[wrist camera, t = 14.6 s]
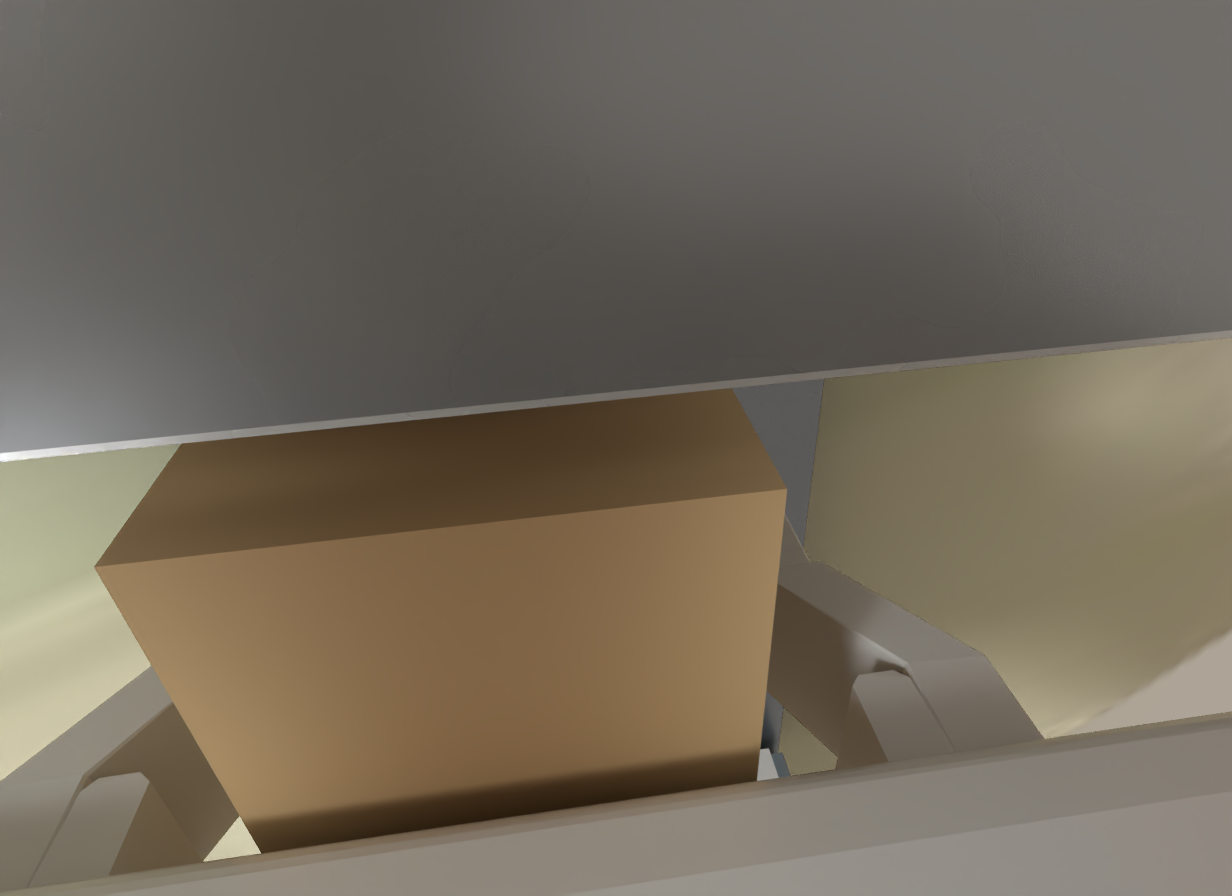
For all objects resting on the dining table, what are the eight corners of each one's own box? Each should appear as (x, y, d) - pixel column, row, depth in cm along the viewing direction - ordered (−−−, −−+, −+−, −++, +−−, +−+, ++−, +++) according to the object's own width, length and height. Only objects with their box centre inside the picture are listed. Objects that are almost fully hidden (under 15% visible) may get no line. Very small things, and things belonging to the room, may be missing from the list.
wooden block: (441, 631, 14) (395, 1081, 8) (338, 222, 10) (93, 567, 4) (642, 606, 15) (731, 1023, 9) (628, 199, 10) (787, 489, 4)
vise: (52, -60, 11) (-2934, -343, 1) (843, -97, 12) (2150, -418, 2) (383, 801, 23) (296, 1363, 13) (758, 748, 24) (919, 1239, 14)
